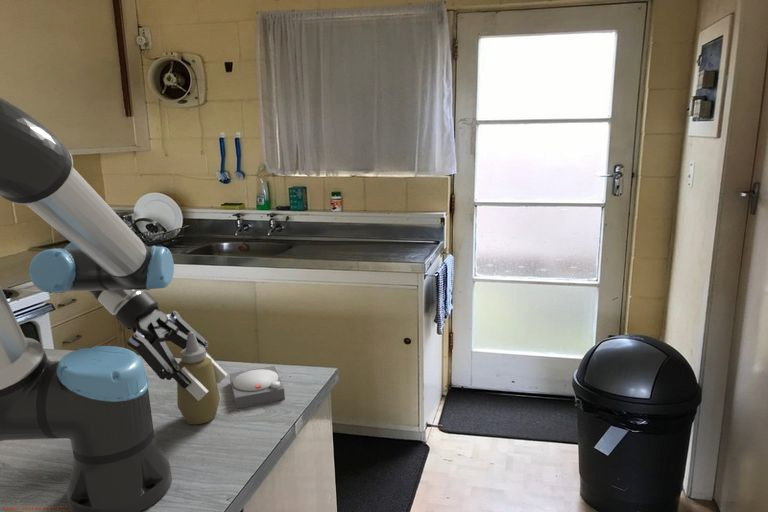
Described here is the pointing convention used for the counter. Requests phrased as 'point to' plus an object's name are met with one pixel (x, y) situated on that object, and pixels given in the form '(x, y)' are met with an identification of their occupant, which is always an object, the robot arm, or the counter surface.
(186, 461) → the counter surface
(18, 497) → the counter surface
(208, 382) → the squeeze bottle
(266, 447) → the counter surface
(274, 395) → the white dome on base
